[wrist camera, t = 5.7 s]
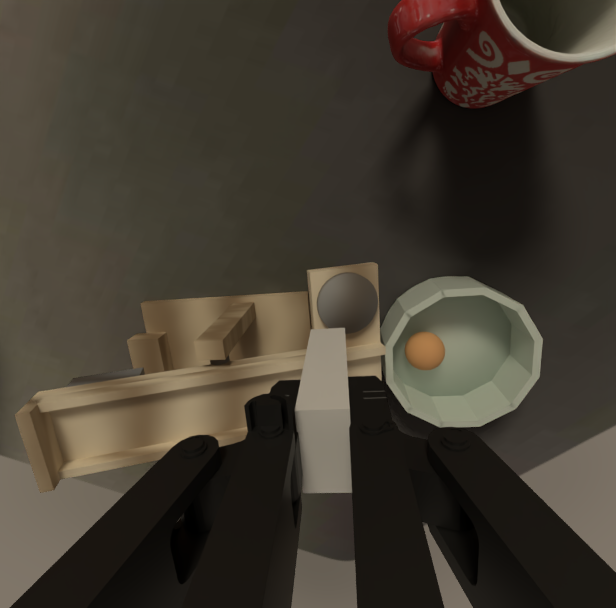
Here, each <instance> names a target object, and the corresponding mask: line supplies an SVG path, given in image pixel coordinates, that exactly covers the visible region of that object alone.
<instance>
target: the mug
mask: <svg viewBox="0 0 616 608" xmlns="http://www.w3.org/2000/svg"><path fill="white" fill-rule="evenodd" d="M440 23H443V25H442V27H441V29H440V31H439V33H438V36H437V38H436V40H435V41H429V42H427V41H421V40H418V39H415V38H413V37H414V36H415V35H417V34H418V33H420V32H422V31H423V30H425V29H427V28H430V27H433V26H436V25H438V24H440ZM388 38H389V43H390V48H391V52H392V55H393V57H394V59H395V60H396V61H397V62H398V63H400V64H402V65H404V66H406V67H409V68H413V69H416V70H422V71H430V72H433V76H434V80H435V82H436V84H437V86H438V88H439V90H440V92H441V93H442V94H443V95H444V96H445V97H446V98H447V99H448V100H449V101H451V102H452V103H454V104H456V105H458V106H461V107H465V108H483V107H487V106H490V105H493V104H496V103H498V102H500V101H502V100H504V99H507V98H509V97H511V96H513V95H516V94H518V93H520V92H522V91H525V90H527V89H529V88H531V87H533V86H536V85H538V84H540V83H542V82H544V81H546V80H549V79H551V78H553V77H556V76H558V75H560V74H562V73H565V72H567V71H569V70H572V69H574V68H576V67H578V66H580V65H583V64H585V63H591V62H595V61H598V60H602V59H605V58H607V57H610V56H612V55H615V54H616V0H401V1H400V2H399V4H398V5H397V6H396V7H395V8H394V10H393V12H392V14H391V16H390V18H389V22H388Z"/></svg>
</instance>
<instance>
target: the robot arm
mask: <svg viewBox="0 0 616 608" xmlns="http://www.w3.org/2000/svg"><path fill="white" fill-rule="evenodd" d="M244 409H245V416H246V423H247V430H248V432H247V435H246V438H245V439H244V440H242V441H240V442H237V443H234V444H230V445H225V446H221V447H219V442H218V440H217V439H216V438H215V437H213V436H210V435H195V436H191V437H188V438H186V439H184V440H181V441H180V442H178V443H177V444H176V445H174V446H173V447H172V448H171V449H170V450H169V451H168V452H167V453H166V454H165V455H164V456H163V457H162V458H161V459H160V460H159V461H158V462H157V463H156V464H155V465H154V466H153V467H152V468H151V469H150V470H149V471H148V472H147V473H146V474H145V475H144V476H143V477H142V478H141V479H140V480H139V481H138V482H137V483H136V484H135V485H134V486H133V487H132V488H131V489H130V490H129V491H128V492H127V493H126V494H124V495H123V496H122V497H121V498H120V499H119V500H118V501H117V502H116V503H115V504H114V506H112V507H111V509H109V510H108V511H107V512H106V513H105V514H104V515H103V516H102V517H101V518H100V519H99V520H98V521H97V522H96V523H95V524H94V525H93V526H92V527H91V528H90V529H89V530H88V531H87V532H86V533H85V534H84V535H83V536H82V537H81V538H80V539H79V540H78V541H77V542H76V543H75V544H74V545H73V546H72V547H71V548H70V549H69V550H68V551H67V552H66V553H65V554H64V555H63V556H62V557H61V558H60V559H59V560H58V561H57V562H56V563H55V564H54V565H53V566H52V567H50V569H48V570H47V571H46V572H45V573H44V574H43V575H42V576H41V577H40V578H39V579H38V580H37V581H36V582H35V583H34V584H33V585H32V587H30V588H29V589H28V590H27V591H26V592H25V593H24V594H23V595H22V596H21V597H20V598H19V599H18V600H17V601H16V602H15V603H14V604H13V605H12V606H11V607H10V608H291V602H292V594H293V585H294V576H295V566H296V558H297V549H298V540H299V531H300V522H301V512H302V502H301V485H302V487H303V493H352V501H353V523H354V545H355V564H356V587H357V608H444V605H443V601H442V597H441V593H440V590H439V585H438V582H437V578H436V574H435V570H434V566H433V562H432V558H431V554H430V550H429V547H428V543H427V539H426V535H425V531H424V527H423V523H422V522H425V523H427V524H428V527H429V530H430V532H431V534H432V536H433V538H434V539H435V541H436V543H437V545H438V546H439V548H440V550H441V552H442V554H443V555H444V557H445V559H446V560H447V562H448V564H449V566H450V567H451V569H452V571H453V573H454V575H455V576H456V578H457V580H458V582H459V584H460V585H461V587H462V589H463V591H464V592H465V594H466V596H467V597H468V599H469V601H470V603H471V605H472V606H473V608H616V572H615V571H613V569H612V568H611V567H610V566H609V565H607V564H606V562H605V561H604V560H603V559H601V558H600V557H599V556H598V555H597V554H596V553H595V552H594V551H593V550H592V549H591V548H590V547H589V546H588V545H587V544H586V543H585V542H584V541H583V540H582V539H581V538H580V537H579V536H578V535H577V534H576V533H575V532H574V531H573V530H572V529H571V528H570V527H569V526H568V525H567V524H566V523H565V522H564V521H563V520H562V519H561V518H560V517H559V516H558V515H557V514H556V513H555V512H554V511H553V510H552V509H551V508H550V507H549V506H548V505H547V504H546V503H545V502H544V501H543V500H542V499H541V498H540V497H539V496H538V495H537V494H536V493H535V492H534V491H533V490H532V489H531V488H530V487H529V486H528V485H527V484H526V483H525V482H524V481H523V480H522V479H521V478H520V477H519V476H518V475H517V474H516V473H515V472H514V471H513V470H512V469H511V468H510V467H509V466H508V465H507V464H506V463H505V462H504V461H503V460H502V459H501V458H500V457H499V456H498V455H497V454H496V453H495V452H494V451H493V450H492V449H490V448H489V447H488V446H487V445H486V444H485V443H484V442H483V441H482V440H481V439H480V438H479V437H478V436H477V435H475V434H474V433H472V432H470V431H468V430H465V429H462V428H458V427H441V428H438V429H435V430H433V431H432V432H431V433H430V434H429V437H428V440H426V439H420V438H416V437H412V436H409V435H406V434H404V433H402V432H401V431H399V430H398V427H397V425H396V424H395V422H394V421H392V417H391V413H390V409H389V405H388V401H387V398H386V393H385V389H384V385H383V382H382V381H381V380H380V379H379V378H378V377H376V376H352V377H348V371H347V354H346V337H345V328H329V329H311V331H310V336H309V341H308V346H307V351H306V356H305V361H304V366H303V371H302V376H301V380H279V381H278V382H277V383H276V384H275V385H274V386H272V387H271V390H270V393H268V394H262V395H259V396H256V397H253V398H252V399H250V400H249V401H247V403H246V404H245V405H244ZM180 517H181V518H180ZM177 521H178V522H177Z"/></svg>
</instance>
